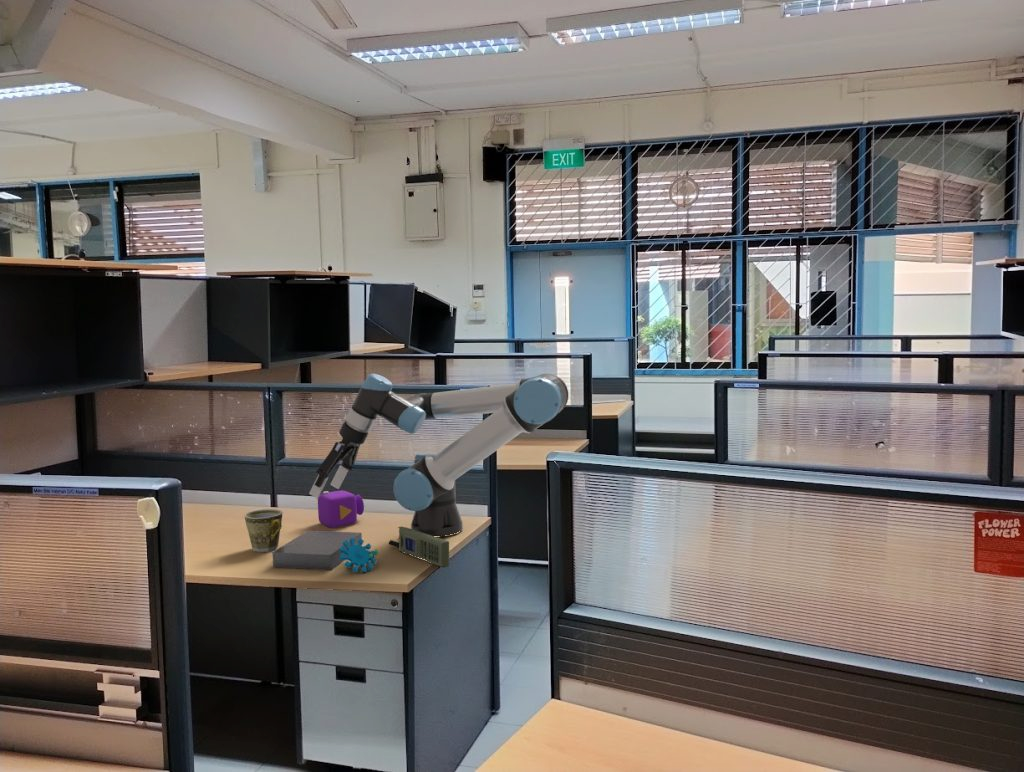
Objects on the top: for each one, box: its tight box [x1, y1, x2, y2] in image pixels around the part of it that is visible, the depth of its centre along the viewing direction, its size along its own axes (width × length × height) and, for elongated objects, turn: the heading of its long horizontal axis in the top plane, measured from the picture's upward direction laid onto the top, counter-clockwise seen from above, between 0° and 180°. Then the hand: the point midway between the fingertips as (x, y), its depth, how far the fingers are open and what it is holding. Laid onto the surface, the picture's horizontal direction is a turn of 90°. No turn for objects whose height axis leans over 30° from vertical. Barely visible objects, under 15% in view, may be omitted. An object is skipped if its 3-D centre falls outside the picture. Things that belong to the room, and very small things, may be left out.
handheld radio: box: [388, 526, 450, 569], centre depth 212 cm, size 7×3×25 cm
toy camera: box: [317, 490, 365, 529], centre depth 247 cm, size 11×14×10 cm
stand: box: [271, 530, 363, 571], centre depth 213 cm, size 16×20×4 cm
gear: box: [339, 538, 379, 573], centre depth 203 cm, size 11×6×10 cm
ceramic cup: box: [244, 508, 283, 553], centre depth 220 cm, size 13×10×10 cm
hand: (324, 491), depth 226 cm, fingers open, 13 cm apart
